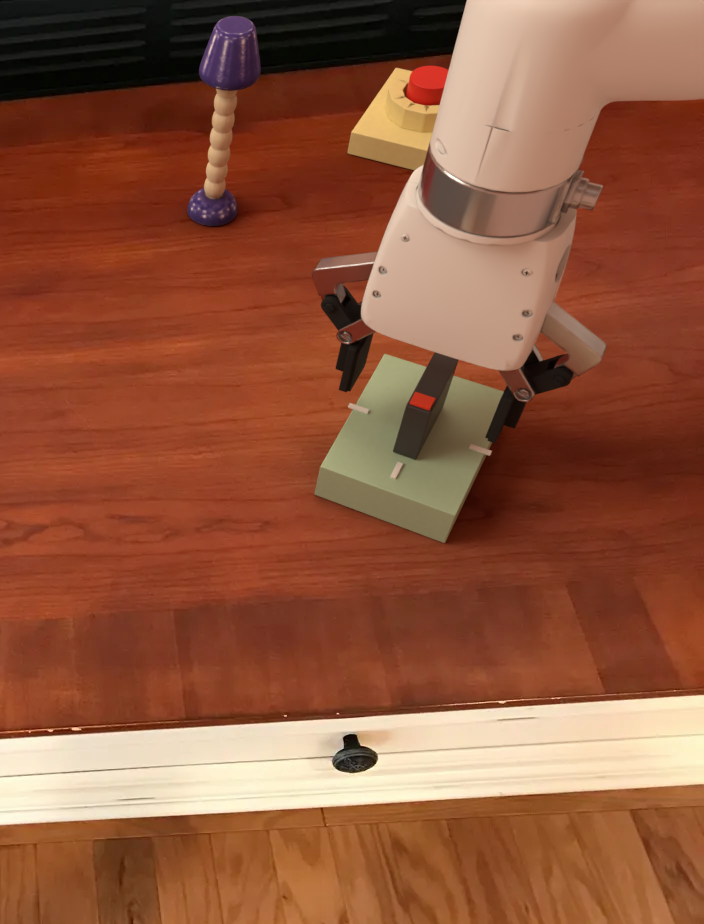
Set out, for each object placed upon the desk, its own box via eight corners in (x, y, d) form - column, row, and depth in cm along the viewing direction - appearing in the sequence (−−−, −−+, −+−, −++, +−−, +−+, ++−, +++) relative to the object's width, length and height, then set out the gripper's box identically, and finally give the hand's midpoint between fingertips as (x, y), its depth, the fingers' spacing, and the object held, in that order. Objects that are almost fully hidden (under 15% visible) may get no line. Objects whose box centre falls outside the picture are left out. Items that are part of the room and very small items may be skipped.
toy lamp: (225, 188, 100) (242, 1, 86) (255, 216, 97) (278, 28, 84) (177, 206, 99) (187, 21, 85) (207, 236, 96) (222, 49, 83)
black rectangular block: (420, 398, 79) (435, 348, 75) (443, 406, 78) (460, 356, 74) (392, 452, 76) (406, 402, 72) (415, 460, 76) (431, 411, 72)
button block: (391, 89, 106) (399, 48, 103) (489, 111, 103) (501, 70, 100) (347, 153, 101) (354, 113, 98) (448, 179, 97) (460, 138, 94)
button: (414, 80, 100) (418, 61, 99) (455, 89, 99) (460, 70, 98) (399, 101, 99) (404, 83, 97) (441, 111, 97) (446, 92, 96)
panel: (372, 381, 84) (380, 349, 82) (506, 425, 81) (518, 393, 78) (309, 492, 79) (315, 462, 76) (450, 545, 75) (461, 516, 72)
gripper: (683, 184, 60) (575, 410, 74) (363, 106, 66) (318, 327, 80) (648, 267, 56) (541, 489, 70) (314, 176, 63) (275, 395, 76)
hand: (422, 402), depth 75 cm, fingers open, 9 cm apart
